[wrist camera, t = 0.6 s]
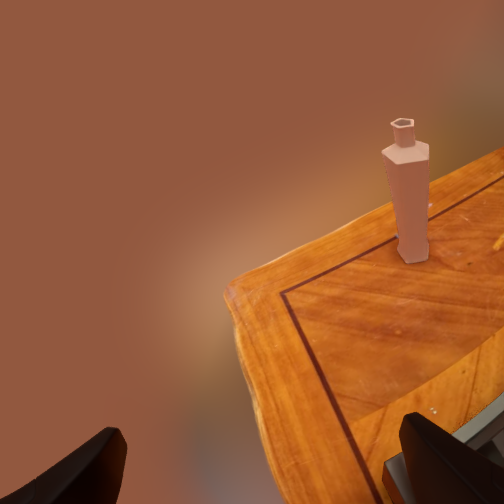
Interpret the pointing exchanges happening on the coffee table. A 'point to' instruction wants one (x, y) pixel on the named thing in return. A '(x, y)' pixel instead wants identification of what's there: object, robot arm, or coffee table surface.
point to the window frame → (471, 434)
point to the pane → (494, 448)
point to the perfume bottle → (409, 189)
